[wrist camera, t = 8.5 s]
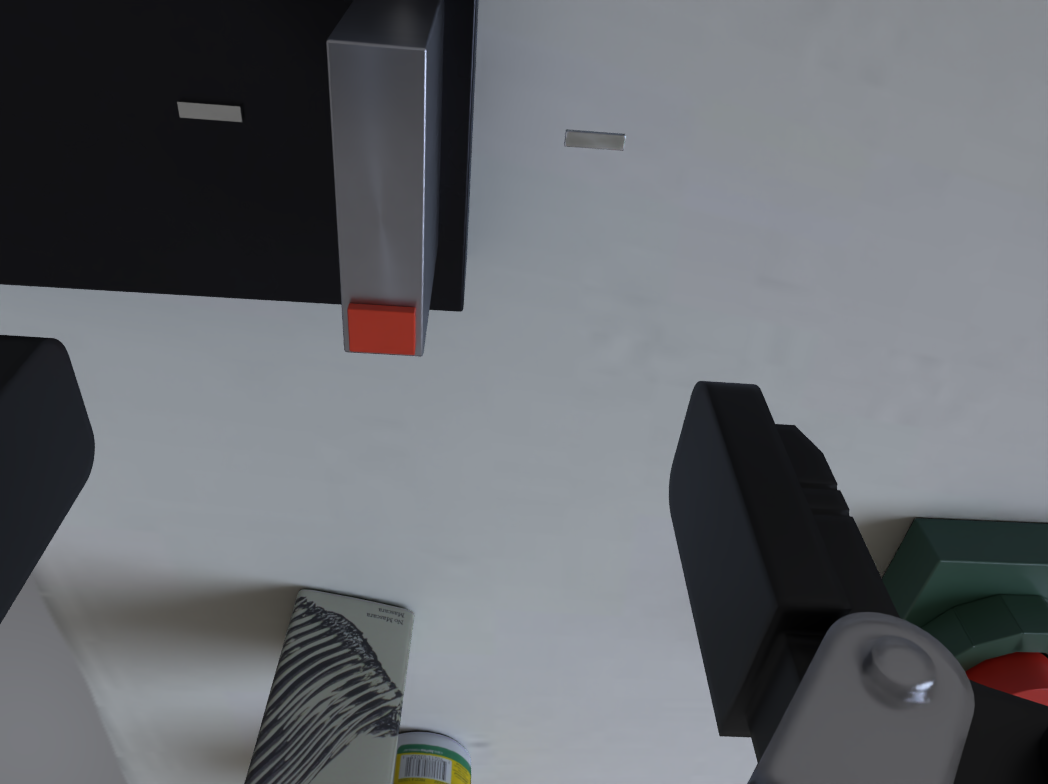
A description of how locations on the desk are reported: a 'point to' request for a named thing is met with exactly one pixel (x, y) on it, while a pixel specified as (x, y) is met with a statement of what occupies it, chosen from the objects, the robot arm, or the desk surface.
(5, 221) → the black rectangular base
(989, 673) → the button
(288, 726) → the box
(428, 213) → the grey and red bar
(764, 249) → the desk surface
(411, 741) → the supplement bottle
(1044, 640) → the button box
